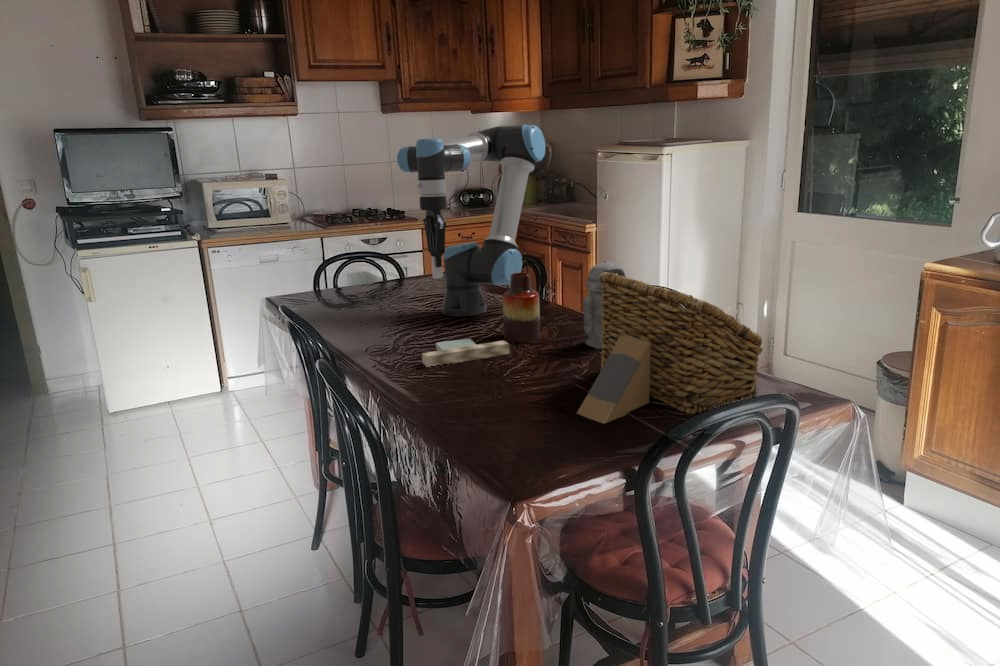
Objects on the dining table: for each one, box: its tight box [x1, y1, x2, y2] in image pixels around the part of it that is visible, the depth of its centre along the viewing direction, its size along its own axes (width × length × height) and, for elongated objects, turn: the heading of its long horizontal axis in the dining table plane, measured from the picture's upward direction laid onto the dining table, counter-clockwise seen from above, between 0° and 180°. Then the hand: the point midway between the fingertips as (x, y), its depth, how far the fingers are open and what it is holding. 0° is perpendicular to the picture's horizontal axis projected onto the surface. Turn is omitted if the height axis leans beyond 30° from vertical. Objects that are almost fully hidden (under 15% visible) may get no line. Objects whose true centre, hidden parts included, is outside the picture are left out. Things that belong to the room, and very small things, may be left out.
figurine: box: [582, 259, 626, 350], centre depth 201 cm, size 10×14×25 cm
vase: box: [502, 272, 541, 344], centre depth 210 cm, size 11×11×20 cm
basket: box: [599, 272, 764, 415], centre depth 167 cm, size 36×26×27 cm
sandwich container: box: [576, 335, 651, 425], centre depth 155 cm, size 9×15×15 cm, turn 131°
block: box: [435, 338, 477, 351], centre depth 200 cm, size 10×8×4 cm
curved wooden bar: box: [421, 340, 511, 368], centre depth 194 cm, size 24×4×4 cm, turn 114°
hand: (437, 277), depth 207 cm, fingers closed
